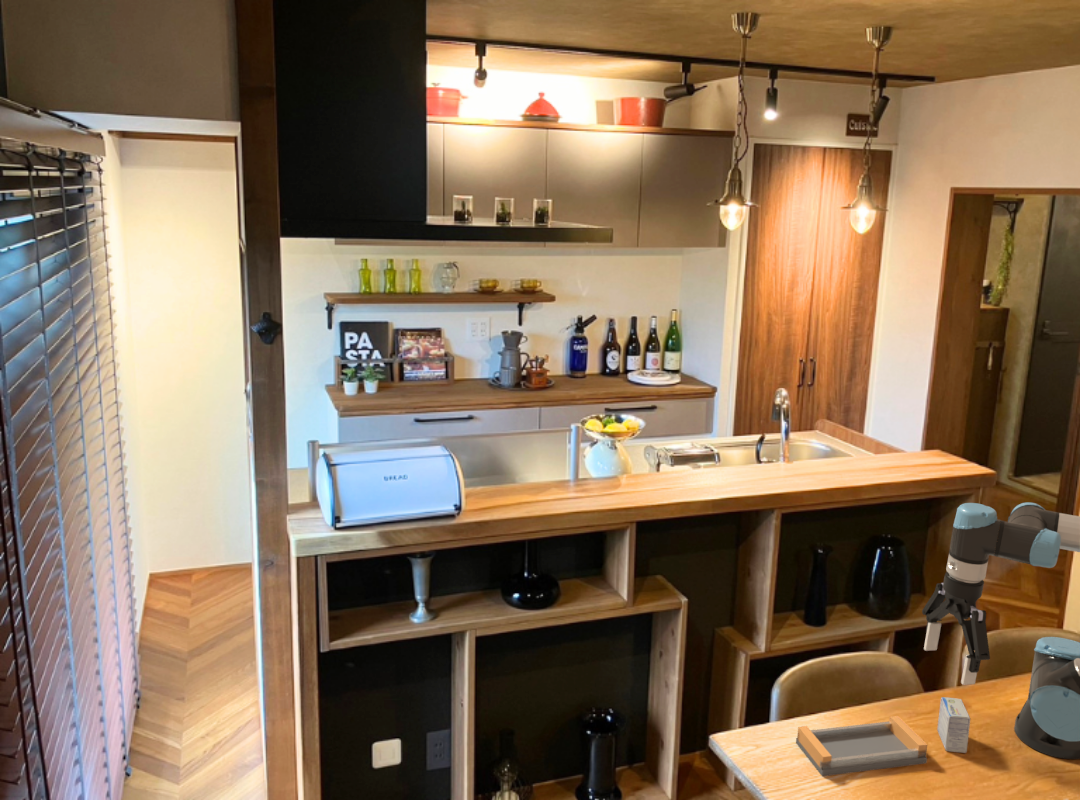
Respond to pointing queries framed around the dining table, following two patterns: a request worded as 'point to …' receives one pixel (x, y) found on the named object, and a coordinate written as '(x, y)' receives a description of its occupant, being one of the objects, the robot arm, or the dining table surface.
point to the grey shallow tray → (862, 747)
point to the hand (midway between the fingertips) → (948, 666)
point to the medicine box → (953, 725)
